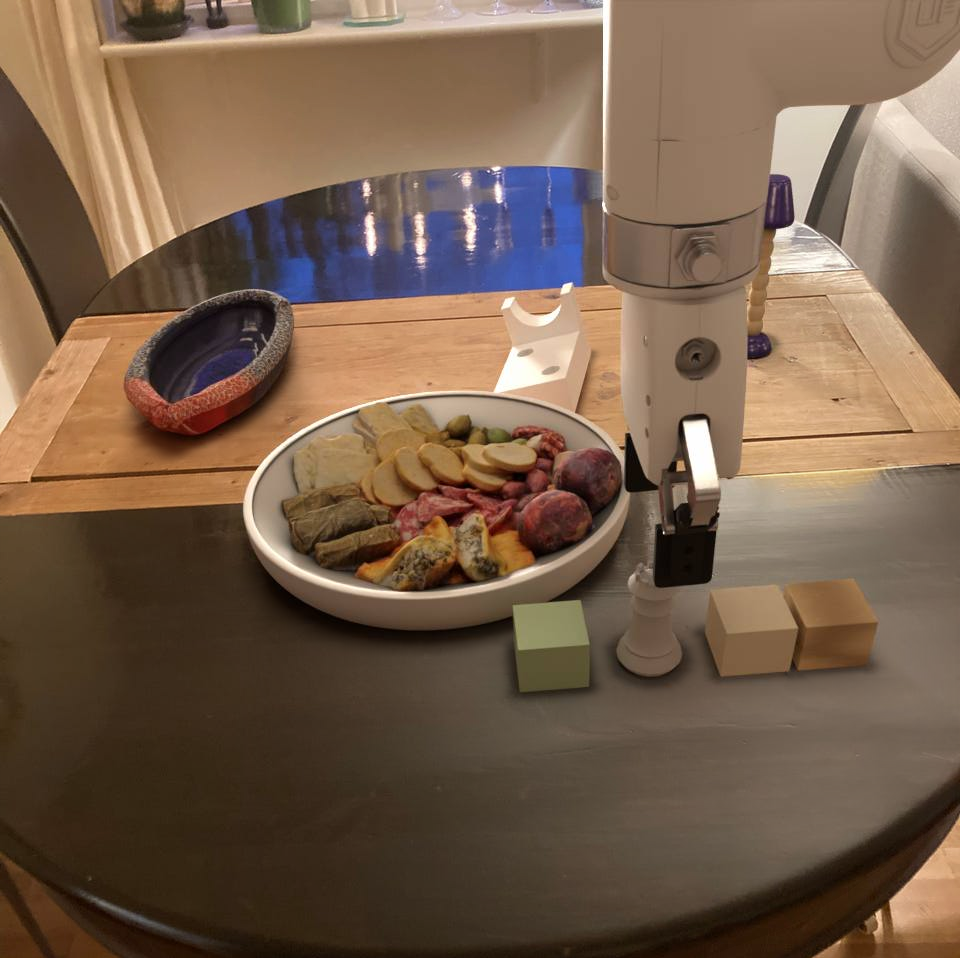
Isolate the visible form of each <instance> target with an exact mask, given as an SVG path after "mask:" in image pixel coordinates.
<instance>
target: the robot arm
mask: <svg viewBox="0 0 960 958" xmlns="http://www.w3.org/2000/svg"><path fill="white" fill-rule="evenodd" d="M602 51H603V53H602V54H603V60H602V62H603V64H602V65H603V67H602V69H603V73H602V74H603V78H602V80H603V81H602V82H603V83H602V87H603V89H602V90H603V91H602V92H603V93H602V276H603V279H604V280H605V282H606V283H607V284H608V285H609V286H611V287H613V288H615V289H616V290H618V291H621V292H622V296H621V299H622V300H621V313H620V314H621V316H620V318H621V319H620V350H619V351H620V352H619V353H620V355H619V356H620V359H619V360H620V361H619V362H620V363H619V365H620V369H619V370H620V371H619V372H620V397H621V404H622V411H623V415H624V418H625V421H626V427H627V430H628V431H629V432H625V433H624V456H625V458H624V486H625V490H626V491H627V492H629V493H630V494H632V493H642V492H643V493H644V492H653V491H658V499H659V511H660V523H655V525H654V543H653V559H652V560H653V581H654V585H655V586H656V587H658V588H667V587H677V586H681V587H687V586H688V587H689V586H696V585H697V586H698V585H706V584H708V583H710V582H711V581H712V579H713V571H714V561H715V553H716V552H715V550H716V541H717V533H718V532H717V531H718V529H719V519H720V514H721V512H719V511H718V510H719V509H720V507H719V506H720V502H721V499H722V489H721V484H720V480H722V479H727V480H733V479H734V478H736V476H737V475H738V474H739V472H740V470H741V464H742V452H743V441H744V440H743V438H744V427H745V426H744V425H745V407H746V393H747V392H746V391H747V375H748V374H747V373H748V372H747V371H748V358H747V342H748V331H747V319H748V317H747V308H748V301H747V289H746V286H747V285H749V284H750V282H752V281H753V280H754V279H755V278H756V276H757V275H758V273H759V268H760V257H761V248H762V240H763V231H764V222H765V213H766V204H767V196H768V188H769V179H770V174H771V170H772V160H773V152H774V151H773V150H774V144H775V143H774V142H775V134H776V125H777V116H778V115H779V114H780V113H782V111H784V110H785V109H789V108H797V107H799V108H800V107H819V106H822V107H823V106H824V107H825V106H861V105H870V104H877V103H882V102H886V101H889V100H892V99H895V98H899V97H900V96H903V95H906V94H908V93H909V92H911V91H913V90H916V89H918V88H919V87H921V86H922V85H924V84H926V83H927V82H928V81H930V80H932V78H934V77H935V76H936V75H937V74H939V73H940V72H941V71H942V70H943V69H944V68H945V67H947V65H948V64H949V63H950V62H951V61H952V60H953V59H954V57H956V55H957V54H958V53H959V51H960V0H603V50H602ZM678 462H683V465H684V470H678ZM685 485H687V494H686V502H680V503H679V505H677V507H676V508H675V500H674V489H673V488H674V487H675V486H685Z"/></svg>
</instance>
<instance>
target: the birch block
mask: <svg viewBox="0 0 960 958" xmlns="http://www.w3.org/2000/svg"><path fill="white" fill-rule="evenodd" d="M783 597H784V599H785V601H786V603H787V605H788V607H789V610H790V612H791V614H792V616H793V618H794V620H795V622H796V624H797V627H798V632H797V637H796V642H795V646H794V651H793V656H792V661H793V663H794V666H795V668H796V670H797V671H809V670H820V669H833V668H846V667H847V668H848V667H860V666H867V665H868V663H869V662H868V661H869V657H870V654H871V650H872V647H873V644H874V643H873V642H874V640H875V636H876V632H877V628H878V626H879V620H878V619H877V616H876V615H875V613H874V611H873V609H872V608H871V606H870V604H869V602H868V601H867V599H866V597H865V596H864V594H863V592H862V590H861V589H860V587H859V585H858V584H857V582H856V580H855V579H854V578H845V579H833V580H821V581H819V580H818V581H807V582H793V583H792V582H791V583H786V584H785V587H784V594H783Z"/></svg>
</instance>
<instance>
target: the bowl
mask: <svg viewBox="0 0 960 958" xmlns="http://www.w3.org/2000/svg"><path fill="white" fill-rule="evenodd" d="M624 458H625V453H623V451H622V449H621V448H620V446H619V445H618V444H617V443H616V441H615V440H614V439H613V438H612V437H611V436H610V435H609V434H608V433H607V432H606V431H605V430H604V429H602V428H601V427H600V426H599V425H597V424H596V423H594V422H592V421H591V420H590V419H588V418H585V416H582V415H580V414H579V413H576V412H572V411H570V410H567V409H565V408H563V407H560V406H557V405H554V404H551V403H548V402H545V401H541V400H537V399H533V398H529V397H524V396H519V395H512V394H506V393H497V392H494V391H486V390H485V391H483V390H441V391H439V390H438V391H428V392H427V391H426V392H419V393H410V394H404V395H403V394H402V395H398V396H392V397H387V398H384V399H383V398H382V399H379V400H376V401H371V402H367V403H364V404H360V405H357V406H354V407H351V408H348V409H345V410H342V411H340V412H337V413H335V414H332V415H329V416H327V417H325V418H323V419H320V420H319V421H316V422H315V423H312V424H311V425H309V426H307V427H305V428H303V429H301V430H300V431H298V432H297V433H295V434H293V435H292V436H291V437H289V438H287V439H286V440H285V441H284V442H282V443H281V444H280V445H278V446H277V447H276V448H275V449H274V450H273V451H271V453H269V455H267V457H266V458H265V459H264V460H263V461H262V462H261V463H260V465H259V466H258V467H257V469H256V470H255V471H254V473H253V474H252V476H251V478H250V479H249V482H248V484H247V487H246V490H245V493H244V495H243V502H242V518H243V521H244V526H245V530H246V533H247V536H248V539H249V543H250V545H251V547H252V549H253V551H254V553H255V555H256V557H257V559H258V560H259V562H260V563H261V565H262V566H263V567H264V569H265V570H266V571H267V573H268V574H269V575H270V576H271V577H272V578H273V580H275V581H276V582H277V584H279V585H280V586H281V587H282V588H284V589H285V590H286V591H287V592H288V593H290V594H291V595H292V596H294V597H295V598H297V599H298V600H300V601H302V602H303V603H304V604H307V605H308V606H311V607H312V608H314V609H317V610H318V611H321V612H323V613H325V614H328V615H330V616H332V617H335V618H339V619H342V620H344V621H348V622H351V623H355V624H356V623H357V624H359V625H364V626H368V627H374V628H381V629H390V630H397V631H398V630H399V631H442V630H444V631H445V630H454V629H463V628H469V627H475V626H479V625H485V624H489V623H493V622H497V621H500V620H504V619H508V618H511V617H513V605H522V604H535V603H548V602H551V601H552V600H553V599H555V598H556V597H559V596H561V595H562V594H564V593H565V592H567V591H568V590H569V589H571V588H573V587H575V585H577V584H578V583H580V582H581V581H582V580H583V579H585V578H586V577H587V576H588V575H589V574H590V573H591V572H593V570H594V569H595V568H596V567H597V566H599V564H600V563H601V562H602V561H603V560H604V559H605V557H607V555H608V553H609V552H610V550H611V549H612V548H613V546H614V545H615V543H616V541H617V540H618V538H619V536H620V534H621V532H622V530H623V528H624V526H625V525H624V524H625V522H626V519H627V516H628V512H629V507H630V501H631V493H629V492H627V491H626V490H625V486H624Z"/></svg>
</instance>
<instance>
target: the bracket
mask: <svg viewBox="0 0 960 958" xmlns="http://www.w3.org/2000/svg"><path fill="white" fill-rule="evenodd" d="M576 293H577V292H576V289H575V286H574V282H573V281H572V282H568V283H564V284H563V285H562V287H561V290H560V292H559V297H560V305H559V307H557V308H556V309H555V310H554V311H552V312H551V313H547V314H545V315H536V314H535V315H534V314H531V313H529V312H528V311H526V310H524V308H522V307H521V306H520V305H519V303H518V302H517V300H516V298H515V296H513V297H508V298H505V300H504V301H503V304H502V305H501V308H500V311H501V314H502V318H503V321H504V324H505V326H506V330H507V333H508V336H509V339H510V342H511V346H512V347H511V349H510V352H509V354H508V357H507V359H506V362H505V363H504V366H503V369H502V371H501V374H500V376H499V378H498V380H497V383H496V385H495V387H494V390H493V392H497V393H506V394H512V395H519V396H524V397H529V398H533V399H537V400H541V401H545V402H548V403H551V404H554V405H557V406H560V407H563V408H565V409H567V410H570V411H572V412H574V413H576V411H577V406H578V403H579V400H580V395H581V392H582V389H583V384H584V381H585V379H586V378H585V377H586V373H587V371H588V367H589V362H590V359H591V355H592V349H591V346H590V342H589V338H588V335H587V330H586V327H585V324H584V319H583V316H582V311H581V309H580V305H579V300H578V298H577V294H576Z"/></svg>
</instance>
